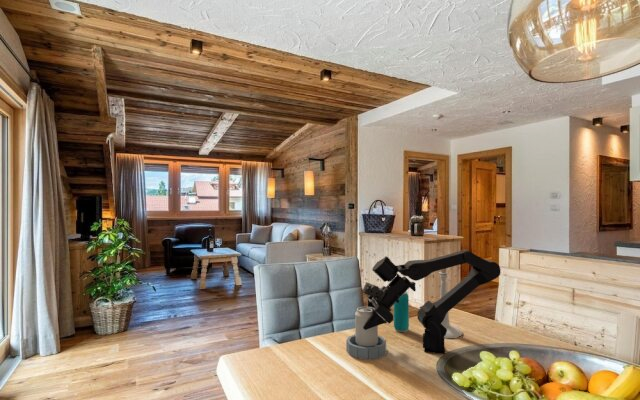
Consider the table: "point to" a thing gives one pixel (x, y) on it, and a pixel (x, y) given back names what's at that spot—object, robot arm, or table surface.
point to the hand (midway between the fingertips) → (362, 324)
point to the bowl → (365, 349)
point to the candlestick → (451, 330)
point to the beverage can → (401, 313)
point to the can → (364, 336)
